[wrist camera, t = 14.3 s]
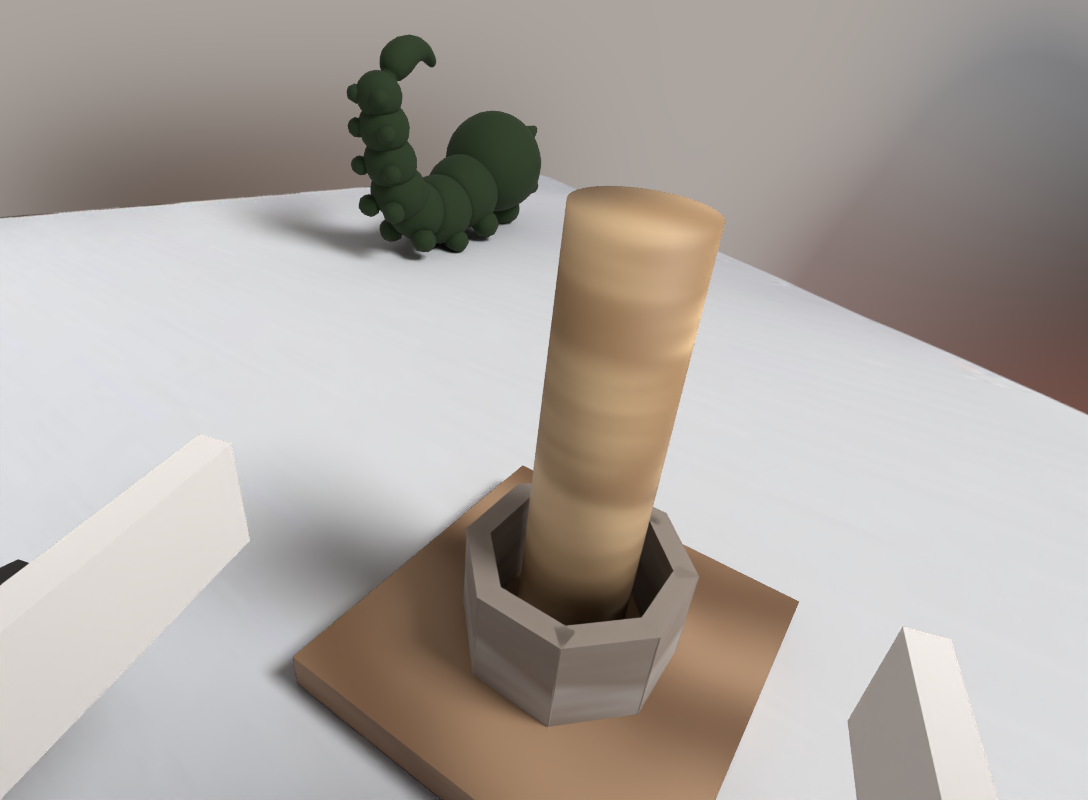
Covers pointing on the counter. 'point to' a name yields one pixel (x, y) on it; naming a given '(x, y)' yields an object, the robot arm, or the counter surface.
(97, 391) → the counter surface
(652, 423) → the oak cylinder
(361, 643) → the cup bracket
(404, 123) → the toy figurine
